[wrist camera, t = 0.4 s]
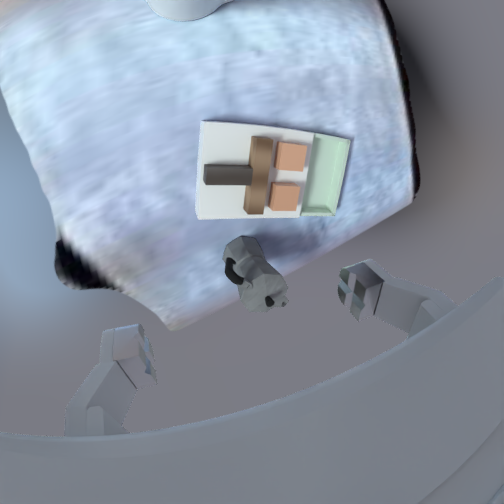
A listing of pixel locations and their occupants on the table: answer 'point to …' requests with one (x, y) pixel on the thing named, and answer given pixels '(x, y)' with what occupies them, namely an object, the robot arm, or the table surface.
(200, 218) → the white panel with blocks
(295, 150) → the tile
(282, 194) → the tile
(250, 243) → the coffeepot
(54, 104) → the table surface
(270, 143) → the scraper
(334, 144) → the box
